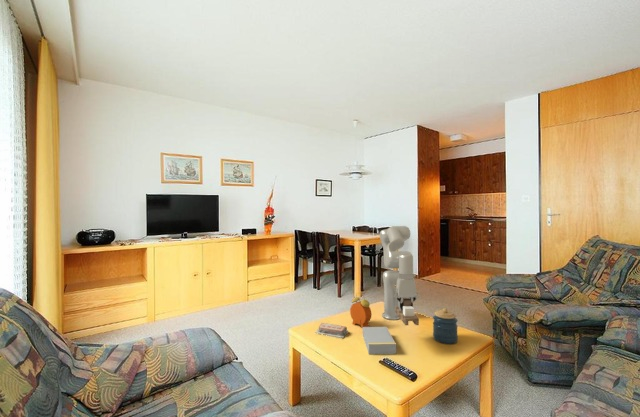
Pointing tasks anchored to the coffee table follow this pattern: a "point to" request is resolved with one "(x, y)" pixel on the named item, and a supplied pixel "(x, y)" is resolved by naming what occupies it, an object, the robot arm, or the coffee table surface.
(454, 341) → the canister
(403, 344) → the coffee table surface
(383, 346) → the dock
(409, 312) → the block
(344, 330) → the packaged product
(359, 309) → the alarm clock
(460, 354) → the coffee table surface
